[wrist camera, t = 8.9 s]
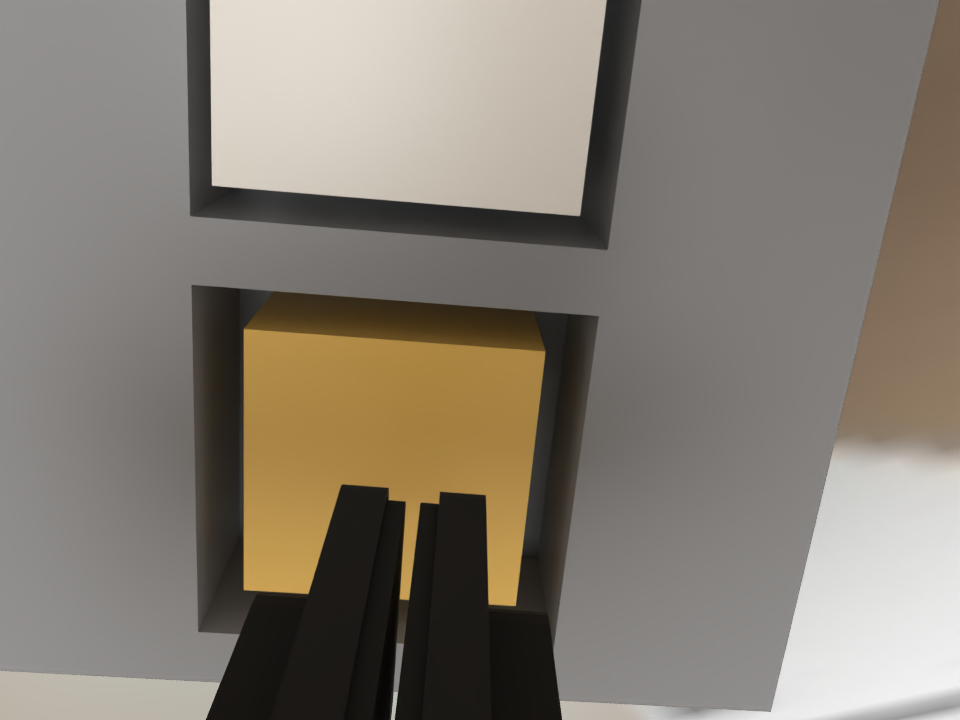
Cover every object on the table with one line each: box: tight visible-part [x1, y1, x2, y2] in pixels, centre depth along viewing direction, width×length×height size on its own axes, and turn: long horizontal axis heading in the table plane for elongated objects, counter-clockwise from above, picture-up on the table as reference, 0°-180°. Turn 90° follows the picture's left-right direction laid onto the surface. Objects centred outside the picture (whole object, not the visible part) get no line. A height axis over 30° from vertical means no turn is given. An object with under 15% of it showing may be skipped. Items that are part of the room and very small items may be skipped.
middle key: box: [210, 0, 607, 216], centre depth 11 cm, size 5×5×2 cm
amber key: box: [244, 291, 546, 606], centre depth 15 cm, size 5×5×2 cm
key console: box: [0, 0, 939, 712], centre depth 14 cm, size 14×22×5 cm, turn 175°
